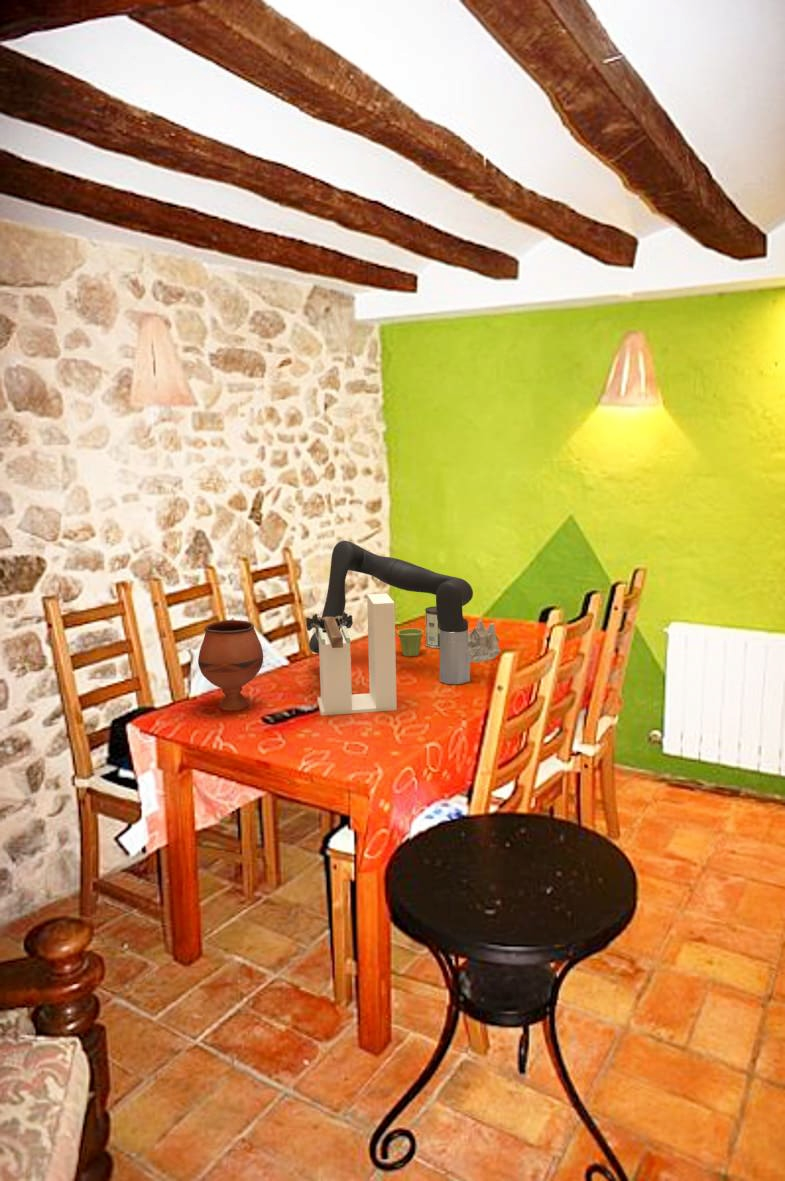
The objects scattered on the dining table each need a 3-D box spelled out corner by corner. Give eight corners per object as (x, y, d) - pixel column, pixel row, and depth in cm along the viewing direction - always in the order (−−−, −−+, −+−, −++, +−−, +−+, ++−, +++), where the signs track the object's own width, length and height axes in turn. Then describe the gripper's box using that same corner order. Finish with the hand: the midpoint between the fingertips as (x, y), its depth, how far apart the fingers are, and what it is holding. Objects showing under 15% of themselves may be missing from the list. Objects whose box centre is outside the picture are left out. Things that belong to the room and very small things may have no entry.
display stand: (389, 695, 248) (386, 593, 242) (396, 710, 234) (394, 602, 228) (317, 700, 245) (313, 597, 238) (321, 715, 231) (316, 606, 225)
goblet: (214, 721, 228) (208, 636, 223) (192, 703, 244) (187, 623, 239) (276, 708, 238) (272, 626, 233) (251, 691, 254) (247, 614, 249)
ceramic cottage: (508, 656, 288) (505, 615, 286) (474, 666, 279) (471, 624, 276) (478, 650, 300) (476, 610, 298) (445, 659, 291) (442, 619, 289)
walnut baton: (334, 626, 249) (333, 616, 248) (343, 647, 224) (342, 637, 223) (324, 626, 248) (324, 617, 248) (332, 648, 223) (332, 637, 223)
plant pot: (413, 659, 286) (413, 636, 285) (392, 655, 292) (392, 632, 290) (428, 653, 294) (428, 630, 292) (407, 649, 299) (407, 627, 298)
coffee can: (454, 642, 310) (454, 606, 307) (450, 649, 300) (450, 612, 297) (427, 641, 312) (427, 605, 309) (423, 648, 302) (423, 611, 299)
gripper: (304, 621, 258) (306, 605, 243) (348, 618, 260) (352, 602, 245) (306, 643, 256) (307, 629, 241) (350, 640, 258) (354, 626, 243)
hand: (330, 615), depth 243 cm, fingers open, 8 cm apart
